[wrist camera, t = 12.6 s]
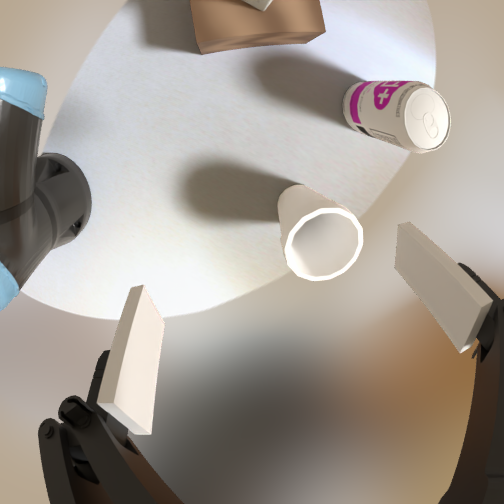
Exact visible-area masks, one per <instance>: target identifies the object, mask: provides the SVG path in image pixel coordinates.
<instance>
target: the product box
mask: <svg viewBox="0 0 504 504" xmlns="http://www.w3.org/2000/svg"><path fill="white" fill-rule="evenodd" d="M242 1H244V2H246V3H248V4H250V5H252V6H254V7H255V8H257V9H259V10H261V11H265V10H266V8H267V7H268V6H269V5H270V3H271V2H272V1H273V0H242Z"/></svg>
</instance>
